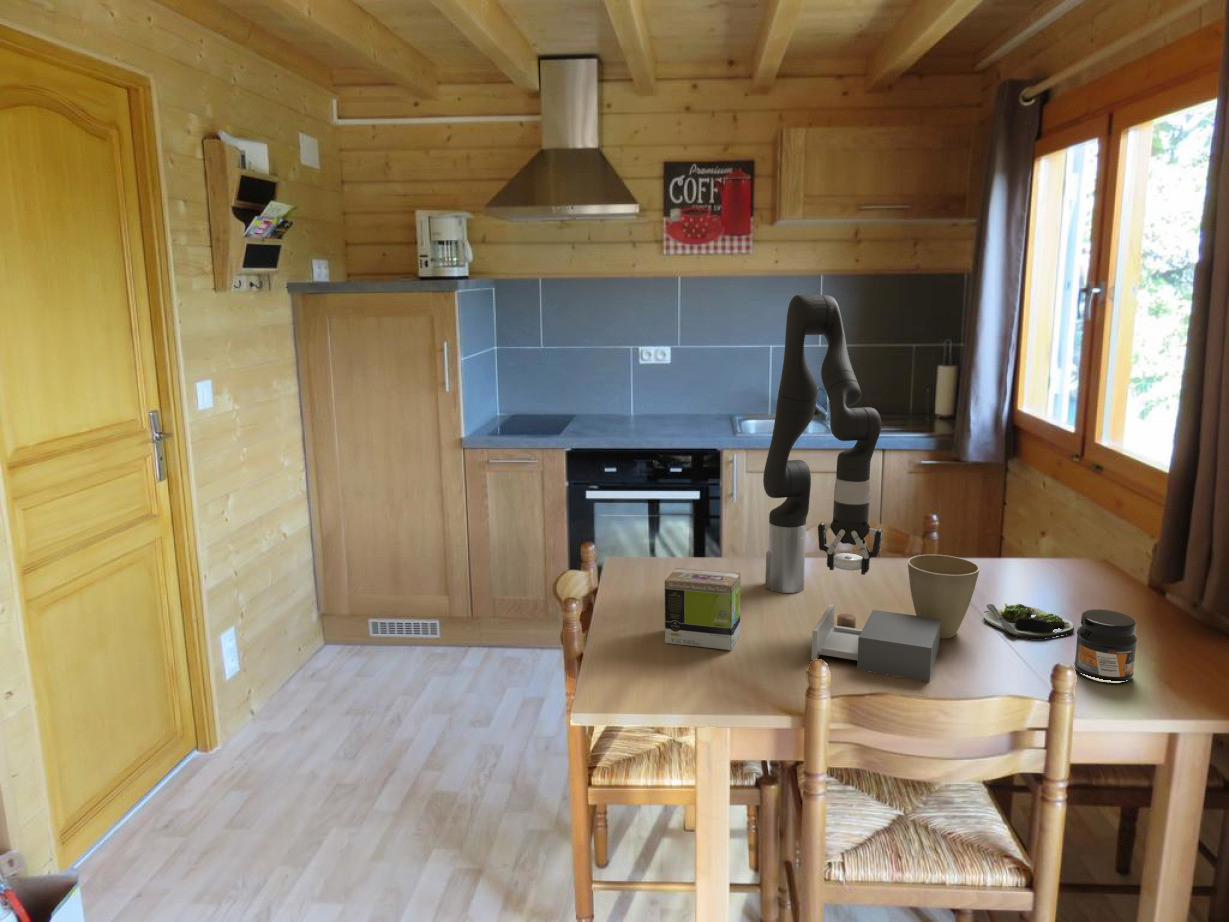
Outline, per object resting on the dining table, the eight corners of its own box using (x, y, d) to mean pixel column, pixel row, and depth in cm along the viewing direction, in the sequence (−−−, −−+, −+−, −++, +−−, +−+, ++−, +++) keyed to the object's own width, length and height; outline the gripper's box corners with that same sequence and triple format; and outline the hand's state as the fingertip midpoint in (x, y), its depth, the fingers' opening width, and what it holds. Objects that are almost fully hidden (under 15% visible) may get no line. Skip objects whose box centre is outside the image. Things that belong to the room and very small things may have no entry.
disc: (830, 567, 200) (830, 559, 200) (836, 559, 206) (836, 551, 205) (860, 571, 197) (860, 563, 197) (865, 563, 203) (865, 555, 203)
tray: (811, 659, 188) (812, 630, 187) (828, 631, 203) (830, 604, 202) (880, 671, 182) (881, 641, 181) (892, 640, 198) (894, 613, 196)
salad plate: (959, 616, 214) (961, 597, 213) (1019, 606, 220) (1021, 588, 219) (1021, 646, 196) (1023, 625, 196) (1085, 634, 202) (1087, 615, 202)
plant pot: (940, 650, 194) (945, 578, 191) (889, 627, 207) (893, 560, 203) (989, 637, 200) (994, 568, 197) (937, 616, 213) (941, 550, 210)
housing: (857, 669, 184) (858, 637, 183) (871, 639, 200) (872, 609, 198) (929, 681, 179) (931, 648, 177) (938, 650, 194) (940, 619, 192)
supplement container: (1107, 689, 174) (1113, 630, 172) (1061, 669, 184) (1066, 612, 182) (1145, 680, 179) (1152, 622, 176) (1098, 660, 188) (1103, 605, 186)
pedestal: (835, 633, 203) (835, 618, 203) (838, 627, 207) (839, 612, 206) (853, 636, 202) (854, 621, 201) (856, 630, 205) (857, 615, 205)
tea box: (740, 635, 203) (741, 571, 200) (731, 652, 194) (732, 586, 191) (675, 627, 208) (675, 565, 205) (663, 644, 199) (663, 579, 196)
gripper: (814, 499, 198) (811, 572, 201) (882, 506, 192) (878, 581, 195) (822, 491, 204) (819, 562, 208) (888, 498, 199) (883, 571, 202)
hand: (847, 571), depth 202 cm, fingers closed on disc, 6 cm apart
